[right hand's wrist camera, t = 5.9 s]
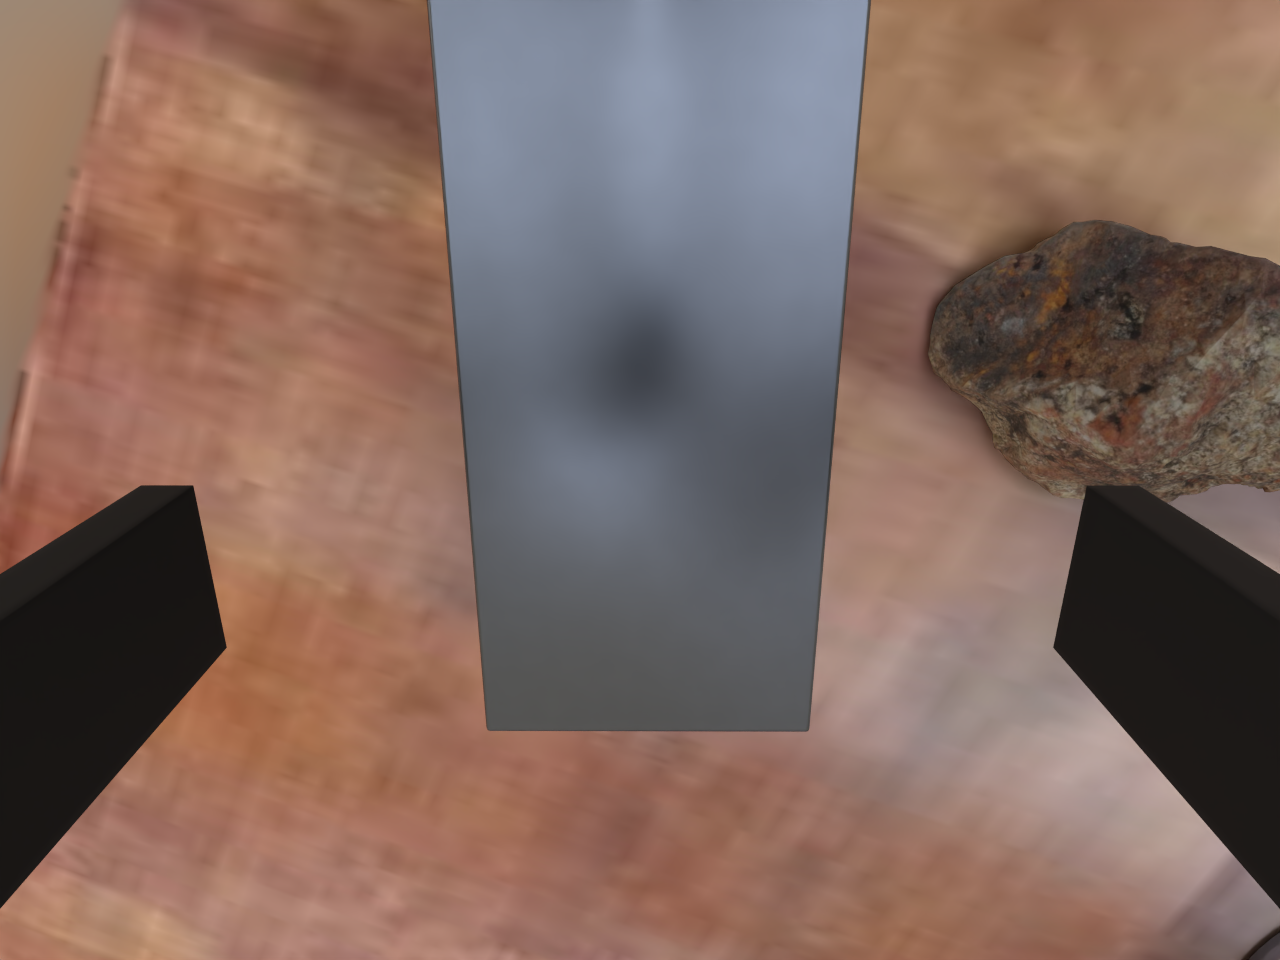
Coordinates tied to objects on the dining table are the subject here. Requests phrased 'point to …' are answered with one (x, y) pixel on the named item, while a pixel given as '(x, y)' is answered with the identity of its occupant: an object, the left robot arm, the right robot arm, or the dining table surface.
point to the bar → (648, 346)
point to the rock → (1121, 361)
